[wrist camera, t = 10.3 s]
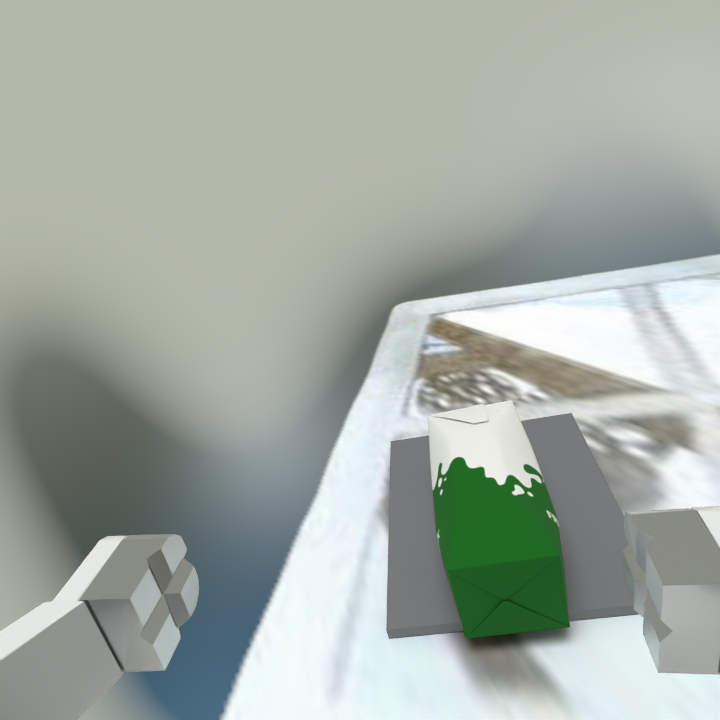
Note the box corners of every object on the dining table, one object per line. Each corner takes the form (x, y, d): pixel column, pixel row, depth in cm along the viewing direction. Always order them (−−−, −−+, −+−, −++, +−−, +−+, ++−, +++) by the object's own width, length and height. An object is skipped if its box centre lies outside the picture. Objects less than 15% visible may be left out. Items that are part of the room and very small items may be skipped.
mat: (571, 420, 60) (571, 413, 59) (666, 611, 39) (667, 601, 38) (392, 448, 63) (390, 441, 63) (389, 638, 42) (386, 629, 41)
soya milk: (455, 649, 39) (437, 469, 57) (587, 634, 37) (526, 454, 55) (430, 562, 35) (419, 398, 53) (576, 541, 34) (514, 380, 51)
